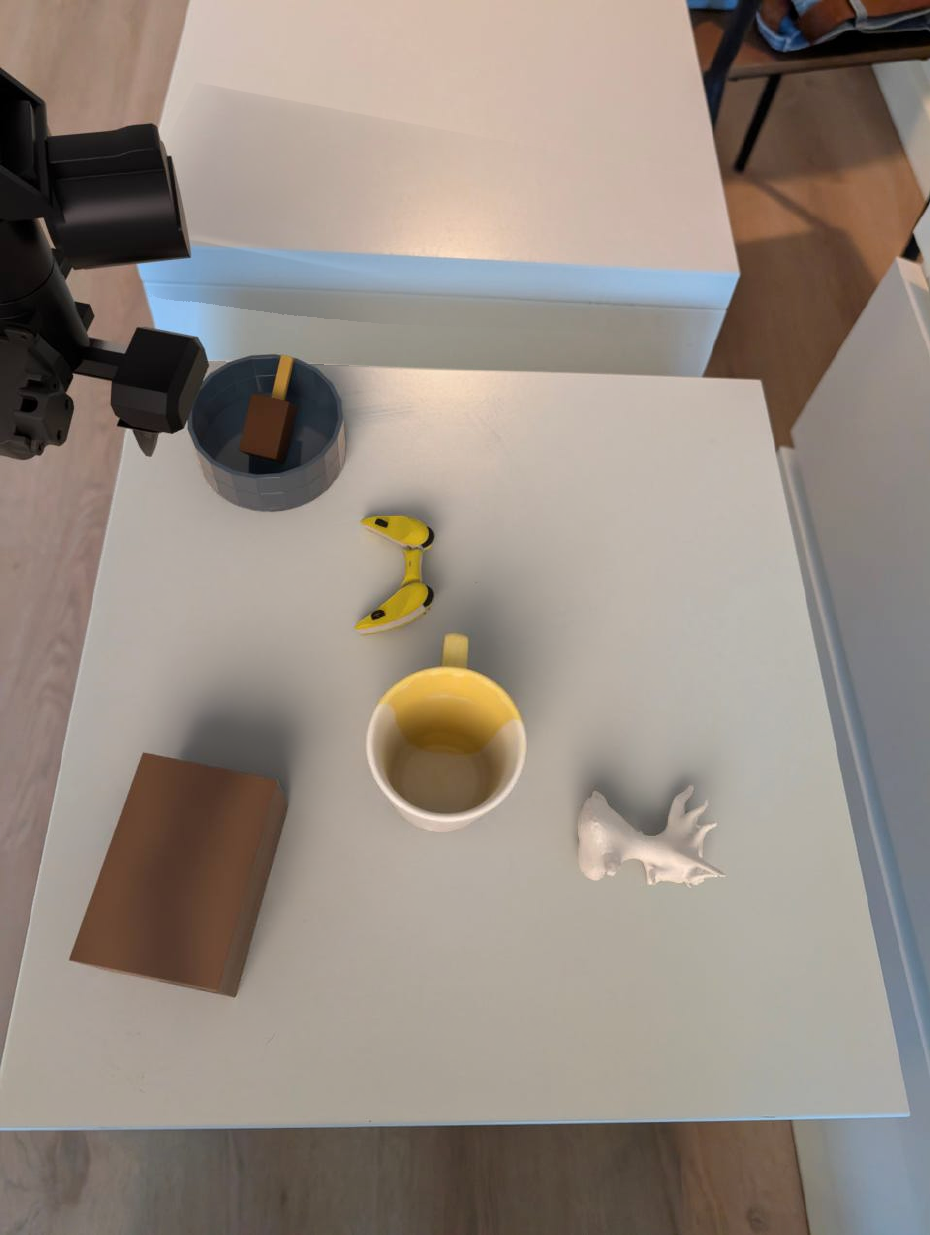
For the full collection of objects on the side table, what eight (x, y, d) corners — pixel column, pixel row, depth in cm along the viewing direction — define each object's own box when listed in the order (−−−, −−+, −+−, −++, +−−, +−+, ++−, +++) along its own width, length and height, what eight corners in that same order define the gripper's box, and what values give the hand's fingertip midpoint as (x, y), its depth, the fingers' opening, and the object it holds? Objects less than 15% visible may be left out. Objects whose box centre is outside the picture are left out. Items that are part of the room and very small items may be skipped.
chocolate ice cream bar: (248, 455, 78) (238, 450, 75) (271, 354, 77) (262, 345, 74) (285, 464, 77) (276, 459, 74) (308, 363, 77) (300, 354, 74)
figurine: (560, 771, 67) (693, 746, 66) (579, 851, 70) (705, 829, 69) (573, 860, 58) (727, 833, 57) (594, 948, 61) (740, 924, 60)
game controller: (442, 632, 71) (427, 613, 68) (367, 642, 73) (349, 625, 70) (443, 522, 76) (428, 500, 73) (372, 535, 77) (355, 514, 74)
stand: (102, 969, 60) (68, 960, 54) (166, 780, 66) (142, 752, 60) (235, 997, 60) (216, 991, 54) (288, 805, 66) (277, 779, 59)
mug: (487, 872, 65) (503, 842, 55) (350, 829, 65) (343, 792, 56) (535, 699, 71) (557, 644, 61) (409, 661, 71) (411, 601, 62)
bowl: (179, 495, 76) (166, 460, 72) (224, 381, 81) (214, 341, 77) (325, 524, 76) (320, 491, 71) (360, 408, 81) (358, 370, 77)
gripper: (-244, 344, 46) (-95, 508, 60) (114, 415, 46) (180, 564, 60) (-140, 194, 51) (-25, 378, 65) (185, 257, 51) (230, 429, 65)
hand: (86, 438), depth 64 cm, fingers open, 9 cm apart
